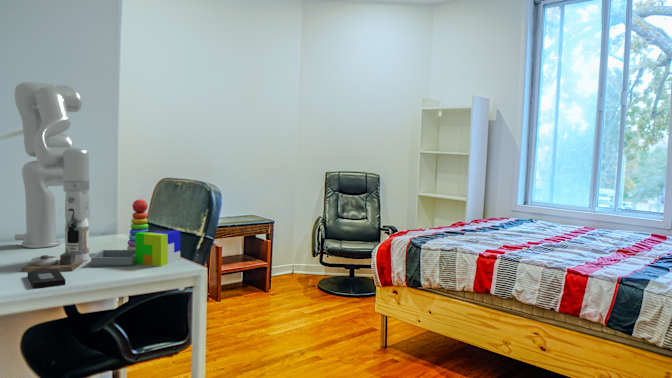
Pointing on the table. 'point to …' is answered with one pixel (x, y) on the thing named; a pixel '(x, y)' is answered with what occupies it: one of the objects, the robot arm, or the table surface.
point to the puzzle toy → (157, 247)
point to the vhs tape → (46, 278)
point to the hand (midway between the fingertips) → (77, 240)
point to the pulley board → (57, 266)
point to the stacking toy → (137, 222)
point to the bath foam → (83, 245)
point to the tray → (113, 258)
